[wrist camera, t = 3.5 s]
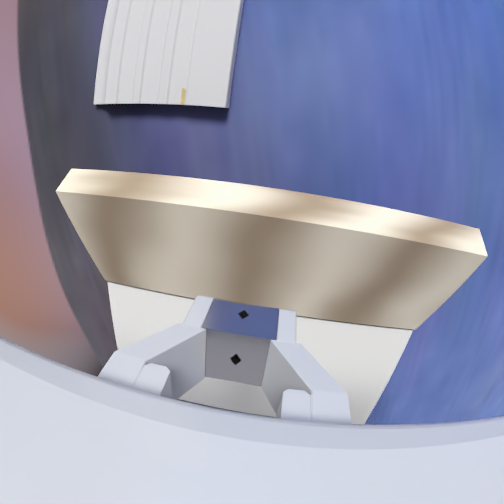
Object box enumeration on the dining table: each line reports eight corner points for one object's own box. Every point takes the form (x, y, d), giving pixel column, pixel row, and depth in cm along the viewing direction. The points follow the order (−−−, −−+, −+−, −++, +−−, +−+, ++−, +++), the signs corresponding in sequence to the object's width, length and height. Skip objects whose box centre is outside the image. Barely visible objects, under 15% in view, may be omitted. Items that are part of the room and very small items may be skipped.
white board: (406, 316, 20) (412, 330, 18) (362, 410, 24) (364, 424, 22) (118, 271, 21) (107, 281, 20) (132, 371, 25) (124, 384, 24)
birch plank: (479, 229, 12) (487, 256, 12) (413, 307, 19) (415, 329, 18) (71, 168, 14) (55, 191, 13) (114, 260, 20) (105, 280, 19)
